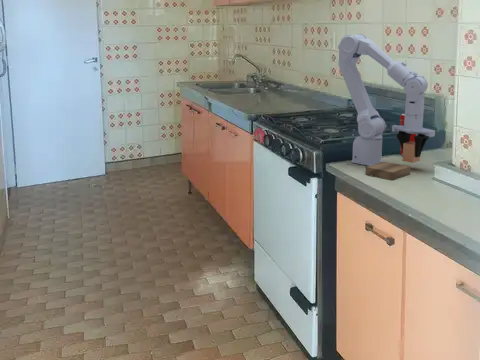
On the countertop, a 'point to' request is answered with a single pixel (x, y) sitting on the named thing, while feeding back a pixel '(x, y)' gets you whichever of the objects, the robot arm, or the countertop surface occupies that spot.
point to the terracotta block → (409, 152)
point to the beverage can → (403, 125)
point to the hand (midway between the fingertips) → (411, 155)
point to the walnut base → (388, 170)
